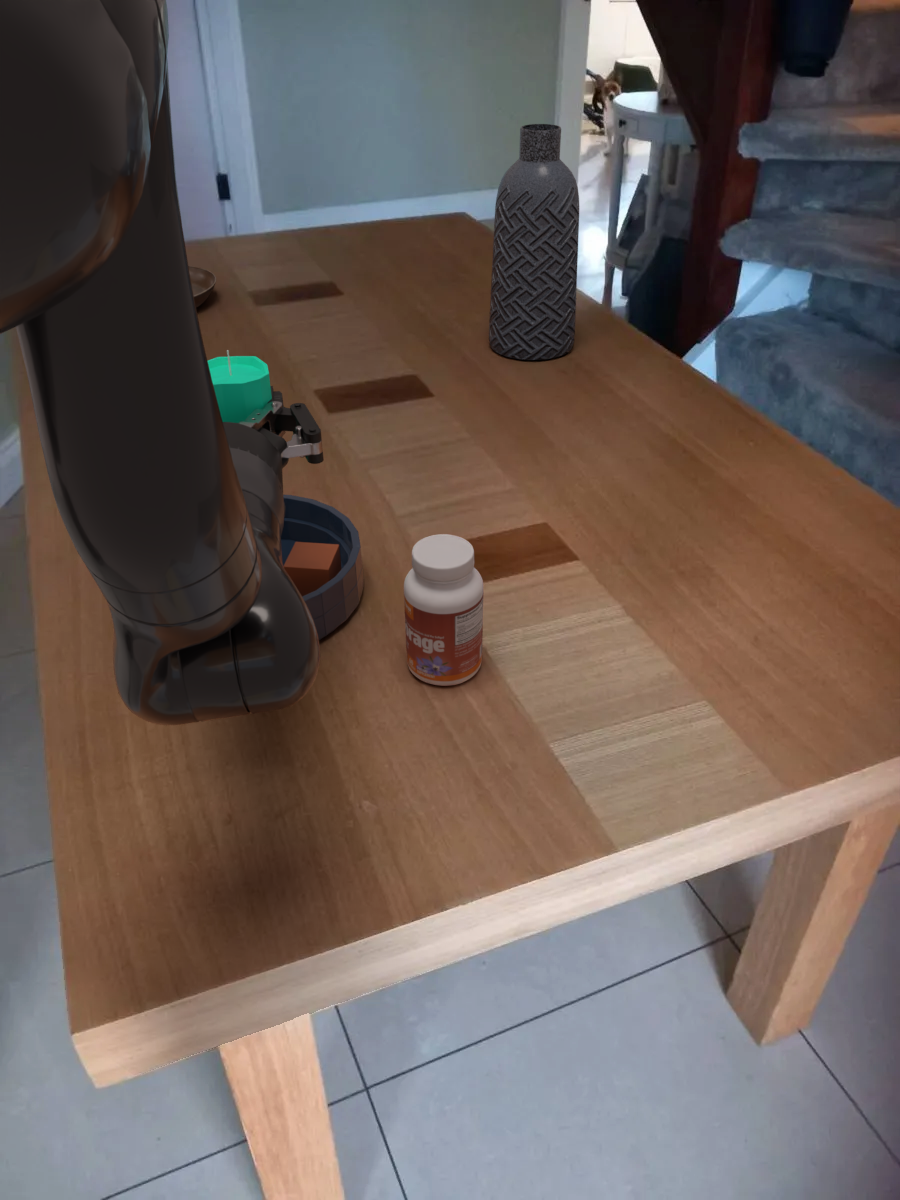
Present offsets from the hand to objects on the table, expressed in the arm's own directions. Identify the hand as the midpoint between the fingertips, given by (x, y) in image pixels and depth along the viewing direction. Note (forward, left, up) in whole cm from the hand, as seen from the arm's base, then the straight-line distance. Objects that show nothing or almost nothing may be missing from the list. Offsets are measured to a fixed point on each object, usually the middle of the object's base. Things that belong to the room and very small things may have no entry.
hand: (232, 400), depth 75 cm
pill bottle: (+18, -11, -18) cm, 28 cm away
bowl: (0, -3, -18) cm, 18 cm away
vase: (+23, +60, -18) cm, 67 cm away
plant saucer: (-38, +74, -18) cm, 85 cm away
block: (+6, -3, -17) cm, 18 cm away
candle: (+1, -2, -7) cm, 8 cm away
